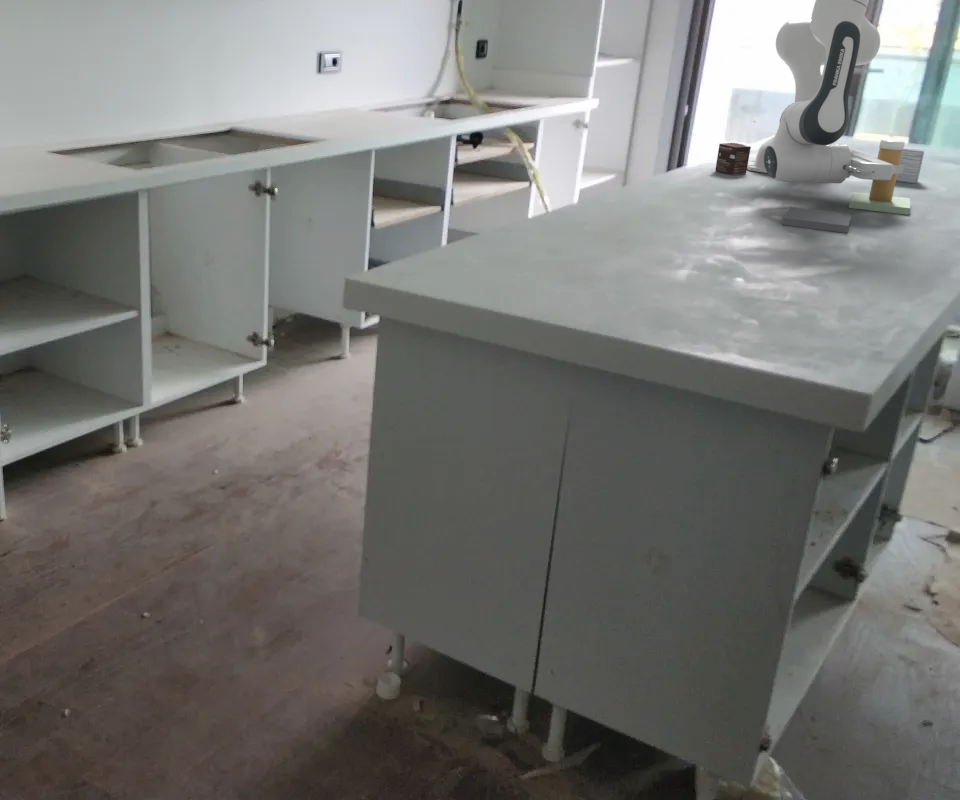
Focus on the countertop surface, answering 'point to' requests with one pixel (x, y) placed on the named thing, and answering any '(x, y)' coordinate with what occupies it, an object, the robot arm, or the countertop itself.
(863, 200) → the tile
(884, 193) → the pill bottle
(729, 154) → the box
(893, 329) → the countertop surface
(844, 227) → the tile
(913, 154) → the medicine box
